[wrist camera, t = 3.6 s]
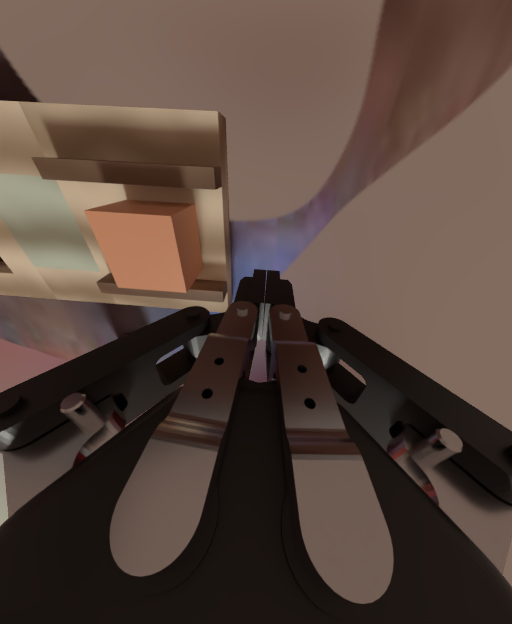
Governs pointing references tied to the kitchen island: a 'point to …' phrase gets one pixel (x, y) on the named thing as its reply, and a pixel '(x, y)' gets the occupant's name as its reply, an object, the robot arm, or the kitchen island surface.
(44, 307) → the kitchen island surface
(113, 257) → the block
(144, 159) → the wooden fixture board
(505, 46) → the kitchen island surface
